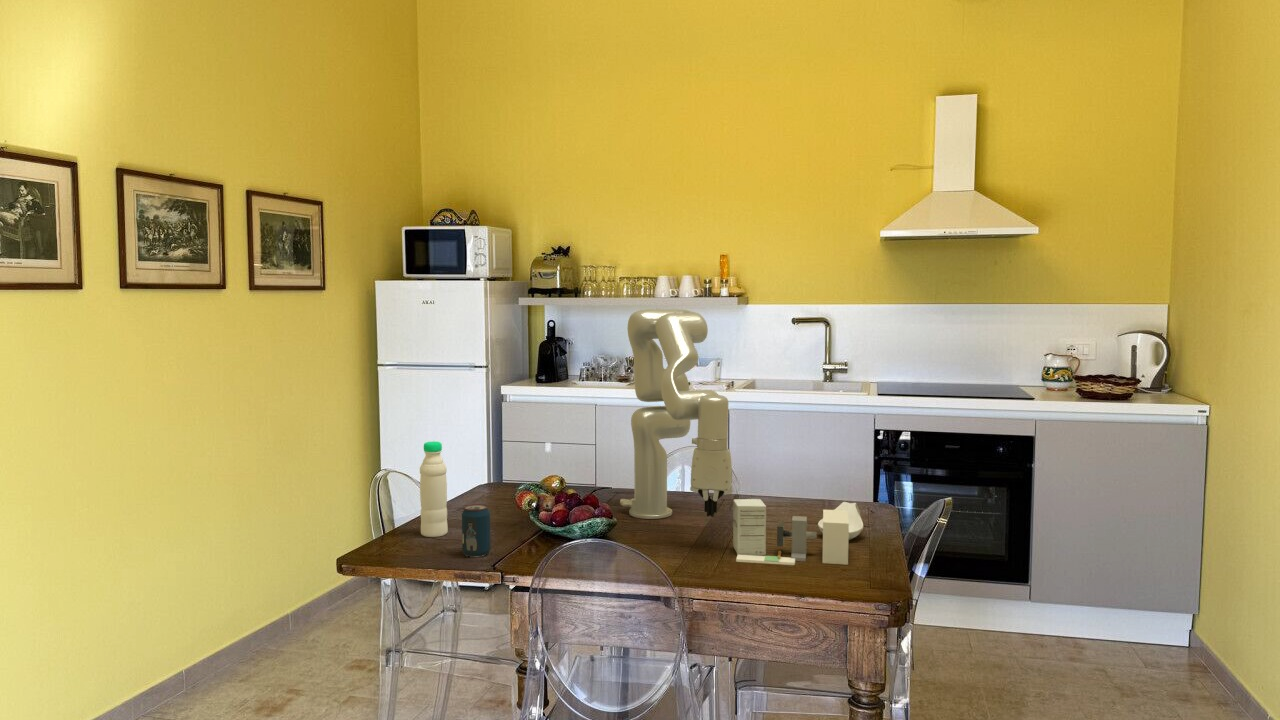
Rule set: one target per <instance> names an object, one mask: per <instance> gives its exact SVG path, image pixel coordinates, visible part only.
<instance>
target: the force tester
mask: <svg viewBox="0 0 1280 720" xmlns="http://www.w3.org/2000/svg"><path fill="white" fill-rule="evenodd" d="M822 511H823V513H822V519H823V533H822V564H830V565H831V564H832V565H849V540H848V538H849V521H848V511H844V510H835V509H822ZM807 519H808V517H807V516H803V515H802V516H801V515H800V516H799V515H792V519H791V520H792V521H791V531H792V537H791V556H790V557H788V556H787V557H785V556H781V557H780V558H778V555H777V556H776V555H737V554H736V555H737V556H736V559H735V562H736V563H751V564H754V563H755V564H770V565H784V566H785V565H786V566H795V565H796V562H807V561H806V560H807V549H808V547H807V546H808V544H807V543H808V542H807V540H808V538H806V531H807V532H808V520H807Z"/></svg>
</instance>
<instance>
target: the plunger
mask: <svg viewBox="0 0 1280 720" xmlns="http://www.w3.org/2000/svg"><path fill="white" fill-rule="evenodd" d="M776 528H777V531H776V535H777V536H776V547H779V548H781V547H784V543H785V538H792V530H786V529H785V520H778V522H777V527H776ZM806 538H807V539H816V540H817V531H808V530H807V531H806ZM781 555H782V550H778V552H777V556H778V558H780V557H782V556H781Z"/></svg>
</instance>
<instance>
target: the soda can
mask: <svg viewBox="0 0 1280 720" xmlns="http://www.w3.org/2000/svg"><path fill="white" fill-rule="evenodd" d="M463 508H464V509H463V511H462V513H461V545H462V546H461V548H462V549H461V550H462V552H463V555H465V556H466V555H467V556H466V557H468V556H482V555H486V554H487V555H488V554H489V553H490V550H491V547H492V546H491V512H490V511H489V508H488V505H487V504H482V503H476V504H475V503H474V504H473V503H472V504H467V505H464V507H463ZM487 555H486V556H487Z"/></svg>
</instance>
